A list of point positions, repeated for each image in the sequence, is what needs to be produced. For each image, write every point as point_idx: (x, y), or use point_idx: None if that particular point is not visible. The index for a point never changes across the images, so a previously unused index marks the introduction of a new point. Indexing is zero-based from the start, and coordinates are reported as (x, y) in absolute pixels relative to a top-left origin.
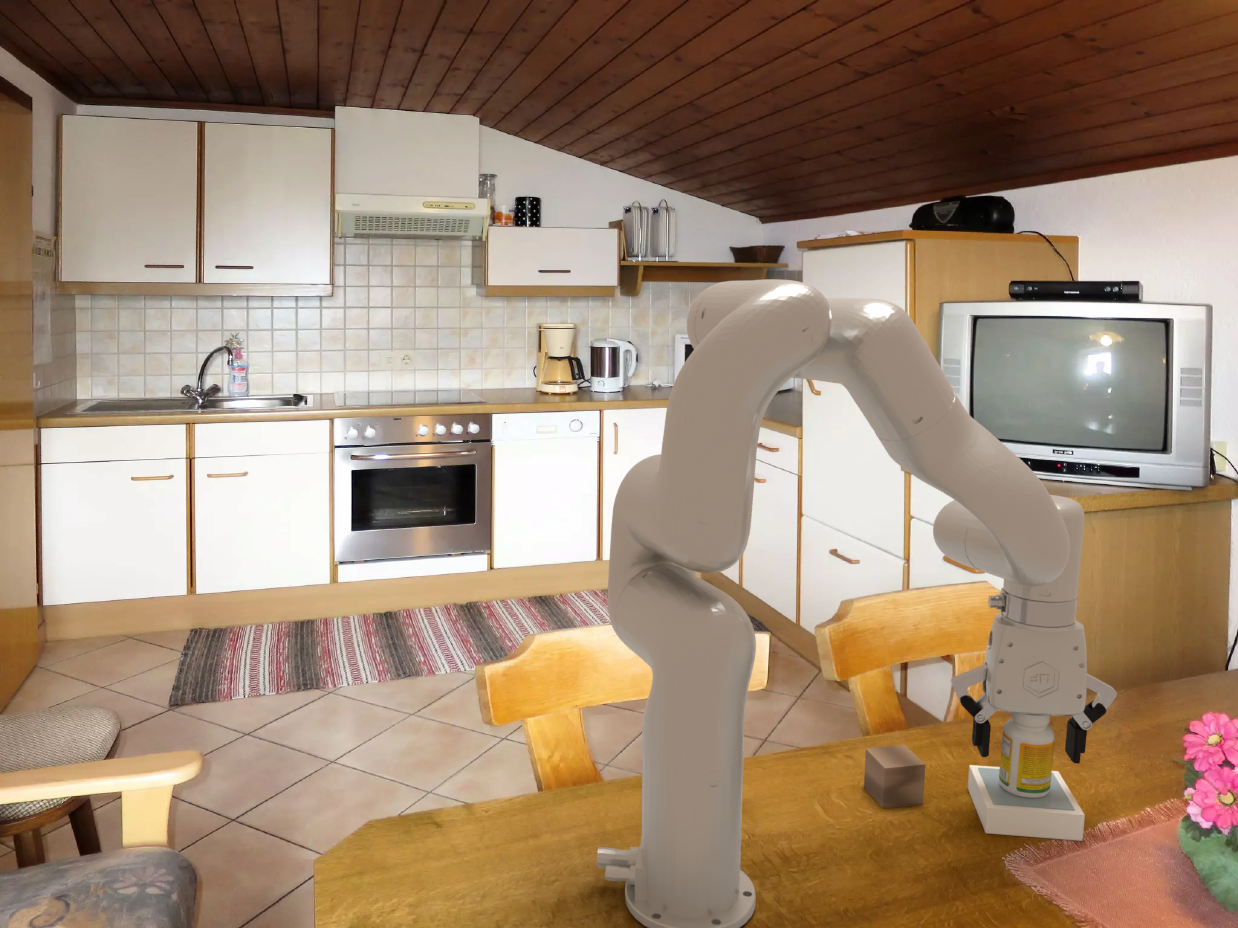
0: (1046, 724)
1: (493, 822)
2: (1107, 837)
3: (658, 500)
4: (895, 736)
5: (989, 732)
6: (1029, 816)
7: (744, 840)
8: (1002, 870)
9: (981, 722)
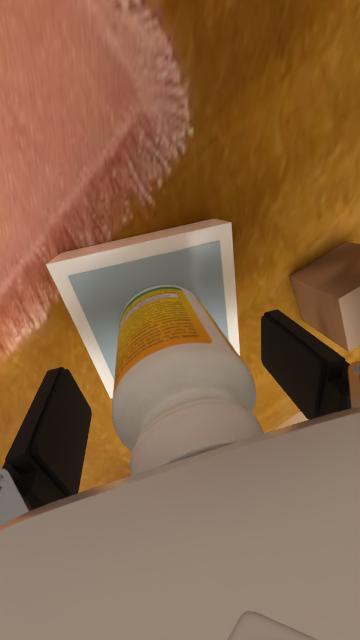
0: (142, 434)
1: None
2: (23, 281)
3: None
4: (287, 414)
5: (305, 349)
6: (152, 238)
7: None
8: (194, 70)
9: (355, 363)
